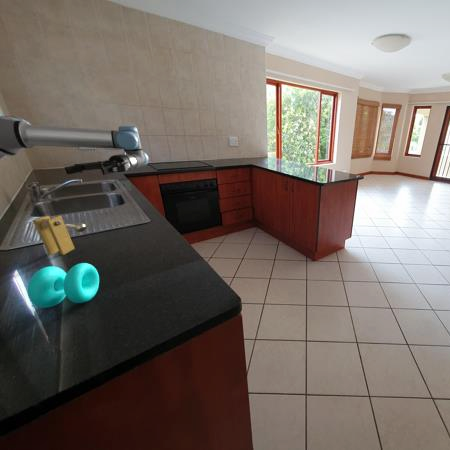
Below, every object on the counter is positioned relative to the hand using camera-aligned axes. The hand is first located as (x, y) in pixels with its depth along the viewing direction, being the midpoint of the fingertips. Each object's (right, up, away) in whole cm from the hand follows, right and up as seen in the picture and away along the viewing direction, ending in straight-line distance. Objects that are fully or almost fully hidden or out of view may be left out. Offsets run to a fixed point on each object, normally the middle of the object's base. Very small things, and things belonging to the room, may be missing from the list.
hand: (84, 171), depth 90 cm
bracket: (0, -31, -8) cm, 32 cm away
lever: (0, -22, -7) cm, 24 cm away
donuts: (+23, -40, -29) cm, 55 cm away
